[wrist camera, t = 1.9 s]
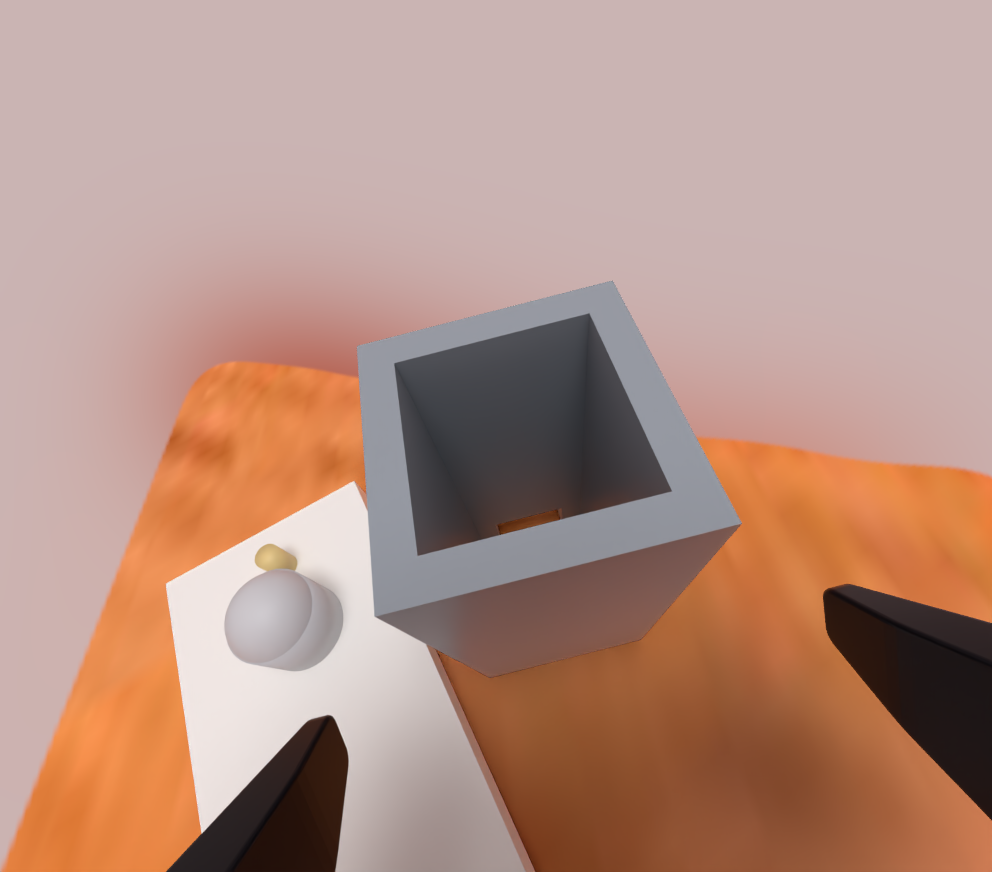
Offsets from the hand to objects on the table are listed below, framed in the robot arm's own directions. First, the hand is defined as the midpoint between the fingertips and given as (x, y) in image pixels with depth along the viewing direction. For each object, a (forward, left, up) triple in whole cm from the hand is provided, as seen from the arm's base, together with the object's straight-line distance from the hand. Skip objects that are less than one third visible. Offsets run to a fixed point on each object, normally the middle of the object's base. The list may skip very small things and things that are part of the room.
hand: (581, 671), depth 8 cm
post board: (+2, +9, -11) cm, 14 cm away
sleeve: (+4, -1, -11) cm, 11 cm away
